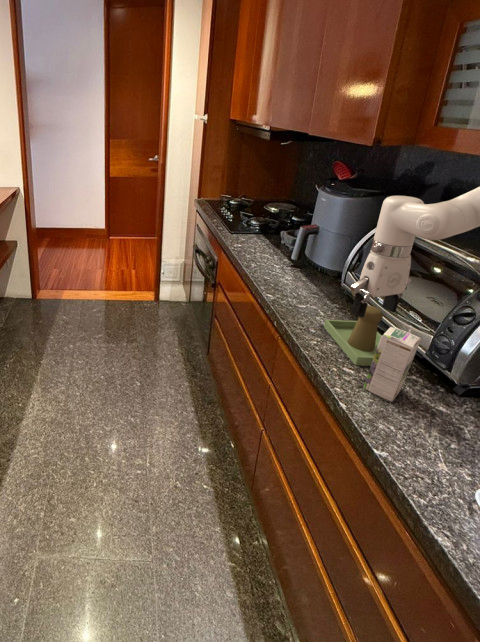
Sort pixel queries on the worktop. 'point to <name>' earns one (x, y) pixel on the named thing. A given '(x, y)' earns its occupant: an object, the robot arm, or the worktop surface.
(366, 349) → the cork
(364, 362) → the spice tray
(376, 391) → the syrup box
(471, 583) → the worktop surface
